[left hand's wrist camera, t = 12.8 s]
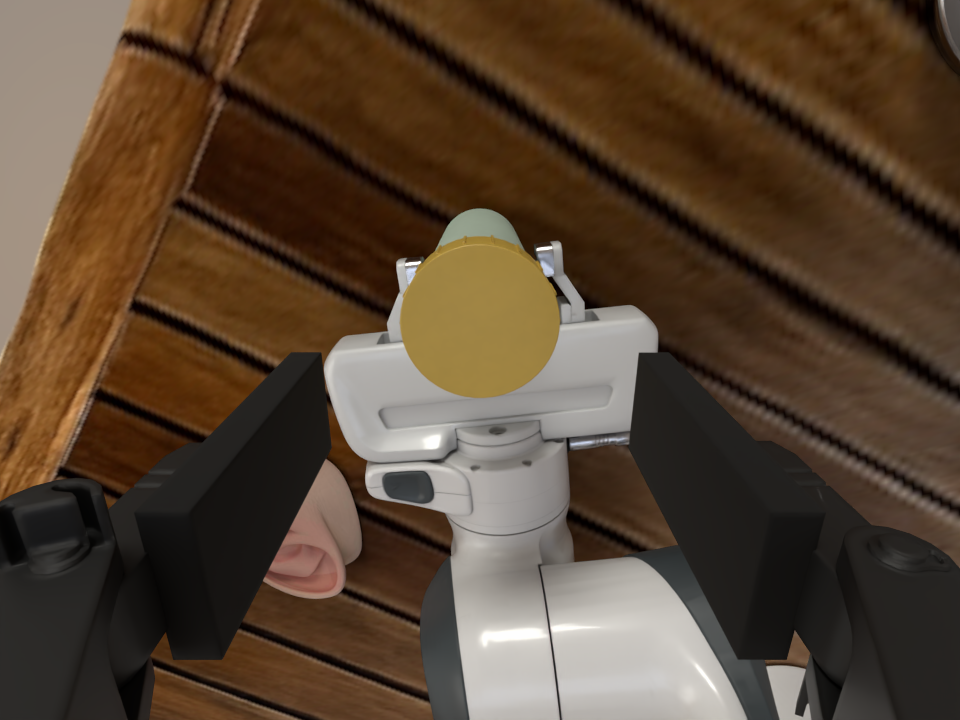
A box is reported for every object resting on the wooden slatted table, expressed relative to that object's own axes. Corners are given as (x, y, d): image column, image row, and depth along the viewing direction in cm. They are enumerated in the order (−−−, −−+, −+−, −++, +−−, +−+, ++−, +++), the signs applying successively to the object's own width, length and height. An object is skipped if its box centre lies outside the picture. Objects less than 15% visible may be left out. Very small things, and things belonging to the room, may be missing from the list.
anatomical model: (185, 463, 39) (342, 465, 39) (211, 437, 43) (354, 439, 43) (214, 604, 44) (354, 606, 44) (235, 569, 48) (364, 571, 48)
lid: (584, 315, 23) (594, 332, 20) (472, 404, 24) (471, 428, 22) (488, 201, 21) (489, 205, 19) (375, 303, 22) (363, 318, 20)
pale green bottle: (534, 252, 38) (579, 328, 21) (476, 301, 39) (473, 412, 22) (483, 191, 37) (487, 219, 19) (425, 244, 38) (379, 315, 21)
